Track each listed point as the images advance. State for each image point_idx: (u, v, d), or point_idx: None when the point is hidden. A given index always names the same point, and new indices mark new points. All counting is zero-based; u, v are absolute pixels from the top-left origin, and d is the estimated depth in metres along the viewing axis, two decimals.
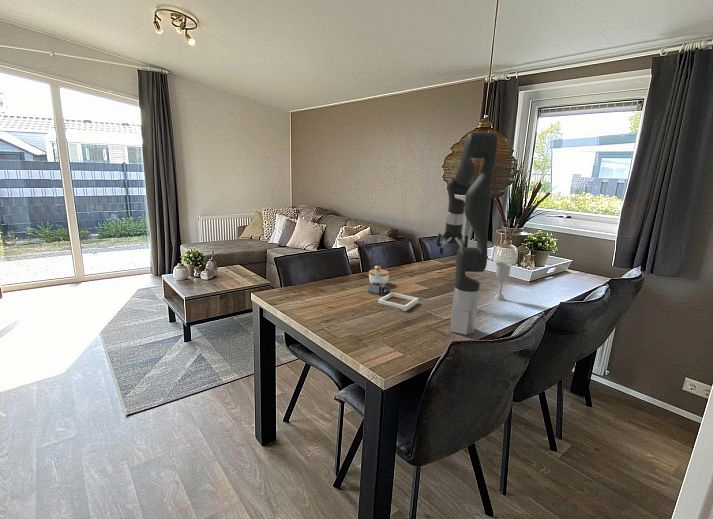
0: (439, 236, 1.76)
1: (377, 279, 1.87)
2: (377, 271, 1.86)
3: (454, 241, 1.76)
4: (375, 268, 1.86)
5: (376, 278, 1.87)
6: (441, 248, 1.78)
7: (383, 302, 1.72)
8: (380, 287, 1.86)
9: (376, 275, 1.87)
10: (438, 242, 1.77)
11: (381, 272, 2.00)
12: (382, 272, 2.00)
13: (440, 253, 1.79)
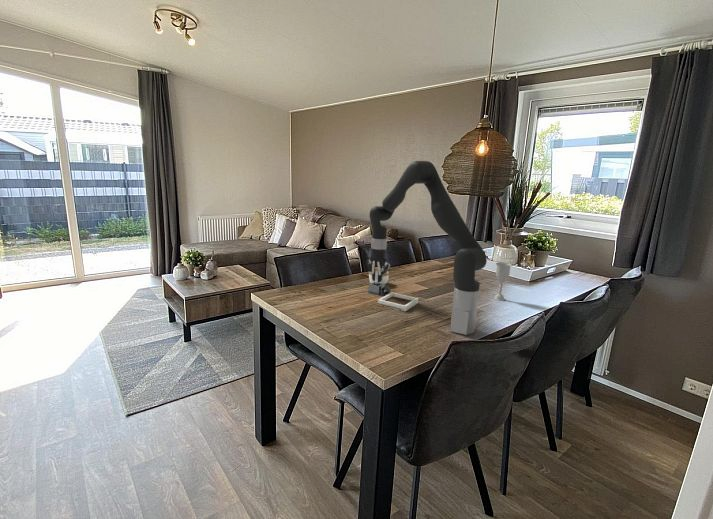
0: (366, 262, 1.88)
1: (377, 279, 1.87)
2: (377, 271, 1.86)
3: (376, 264, 1.86)
4: (375, 268, 1.86)
5: (376, 278, 1.87)
6: (373, 274, 1.88)
7: (383, 302, 1.72)
8: (380, 287, 1.86)
9: (376, 275, 1.87)
10: (368, 268, 1.88)
11: None
12: None
13: (372, 279, 1.89)
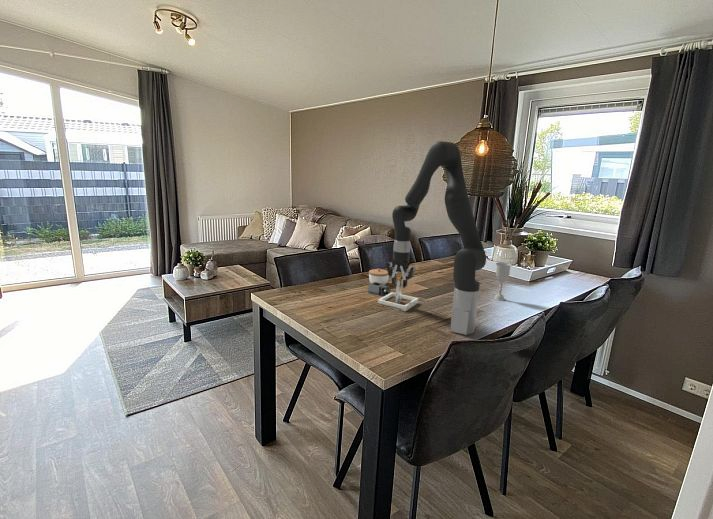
0: (387, 265, 1.74)
1: (399, 289, 1.74)
2: (399, 281, 1.73)
3: (399, 269, 1.71)
4: (397, 277, 1.72)
5: (398, 288, 1.74)
6: (393, 278, 1.75)
7: (383, 302, 1.72)
8: (380, 287, 1.86)
9: (398, 285, 1.73)
10: (388, 271, 1.75)
11: (381, 272, 2.00)
12: (382, 272, 2.00)
13: (392, 283, 1.75)
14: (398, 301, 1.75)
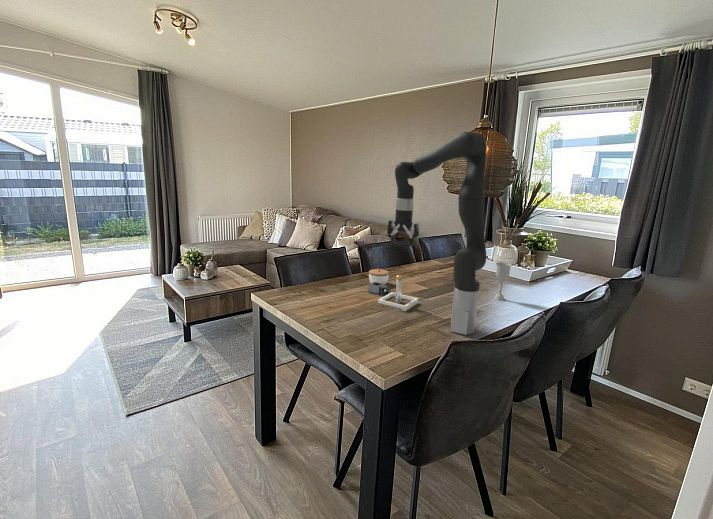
0: (389, 223, 1.70)
1: (399, 289, 1.74)
2: (399, 281, 1.73)
3: (403, 229, 1.67)
4: (397, 277, 1.72)
5: (398, 288, 1.74)
6: None
7: (383, 302, 1.72)
8: (380, 287, 1.86)
9: (398, 285, 1.73)
10: (388, 229, 1.71)
11: (381, 272, 2.00)
12: (382, 272, 2.00)
13: None
14: (398, 301, 1.75)
